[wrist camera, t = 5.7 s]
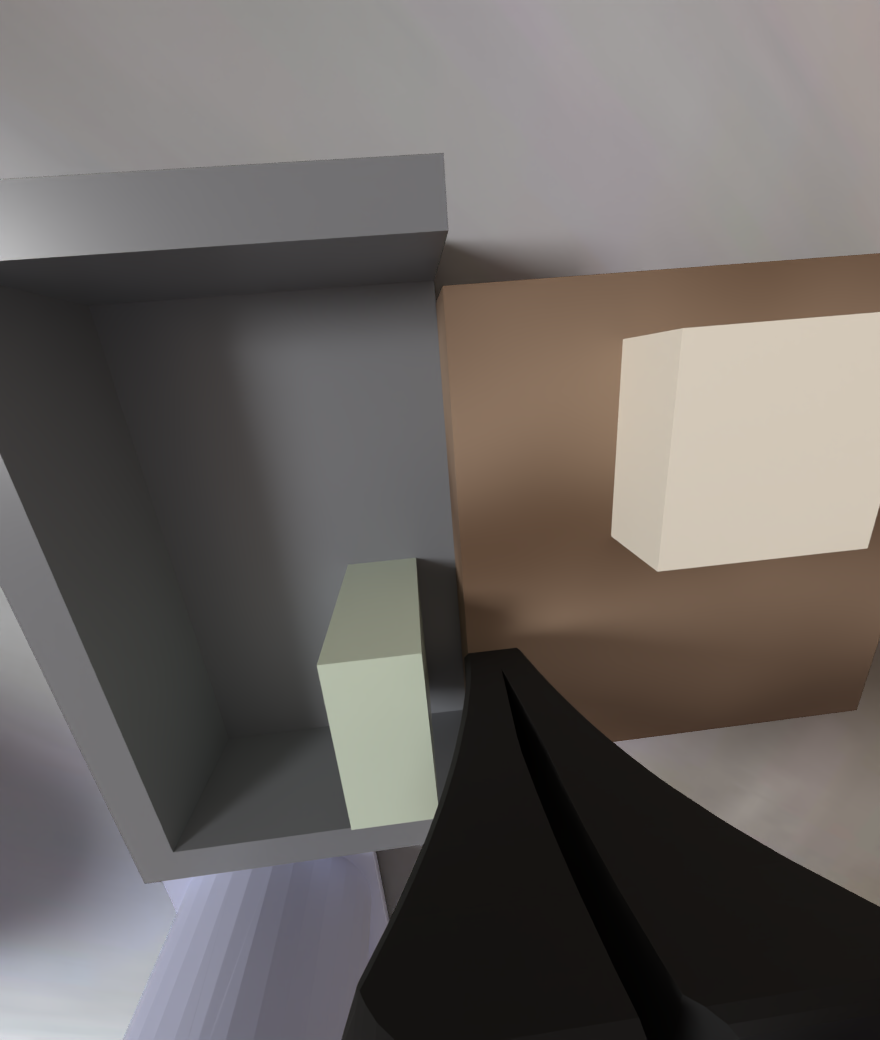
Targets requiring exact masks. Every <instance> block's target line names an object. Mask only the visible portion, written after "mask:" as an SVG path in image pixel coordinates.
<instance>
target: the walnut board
mask: <svg viewBox="0 0 880 1040" xmlns="http://www.w3.org/2000/svg"><path fill="white" fill-rule="evenodd" d="M875 312H880V253H878V254H864V255H851V256H837V257H824V258H810V259H797V260H784V261H770V262H757V263H743V264H730V265H716V266H703V267H690V268H676V269H663V270H649V271H636V272H623V273H609V274H596V275H582V276H569V277H555V278H542V279H529V280H515V281H502V282H488V283H475V284H461V285H448V286H442V289H441V292H440V294H439V297H438V299H437V302H436V314H437V327H438V340H439V353H440V367H441V380H442V393H443V407H444V420H445V433H446V447H447V460H448V473H449V487H450V500H451V513H452V527H453V540H454V553H455V567H456V580H457V593H458V607H459V620H460V633H461V647H462V660H463V673H464V687H465V688H466V677H465V664H464V657H465V656H466V655H467V654H468V653H476V652H484V651H492V650H501V649H509V648H518V649H519V650H520V651H521V652H522V653H523V654H524V655H525V656H526V657H527V659H528V660H529V661H530V662H531V663H532V664H533V665H534V666H535V668H536V669H537V670H538V671H539V672H540V673H541V674H542V675H543V676H544V677H545V678H546V680H547V681H548V682H549V683H550V684H551V685H552V686H553V687H554V688H555V689H556V690H557V691H558V692H559V693H560V694H561V695H562V696H563V697H564V698H565V699H566V700H567V701H568V702H569V703H570V704H571V705H572V706H573V707H574V708H575V709H576V710H577V711H578V712H580V713H581V714H582V715H583V716H584V717H585V718H586V719H587V720H588V721H589V722H590V723H592V724H593V725H594V726H595V727H596V728H597V729H598V730H600V731H601V732H602V733H603V734H604V735H605V736H606V737H607V738H609V739H610V740H611V741H612V742H616V741H623V740H631V739H639V738H646V737H654V736H662V735H669V734H677V733H684V732H692V731H700V730H707V729H715V728H723V727H730V726H738V725H745V724H753V723H761V722H768V721H776V720H784V719H791V718H799V717H806V716H814V715H822V714H829V713H837V712H845V711H852V710H857V707H858V704H859V701H860V698H861V695H862V692H863V689H864V685H865V682H866V679H867V676H868V673H869V670H870V667H871V663H872V660H873V657H874V654H875V651H876V648H877V645H878V641H879V638H880V506H879V510H878V513H877V517H876V520H875V524H874V527H873V531H872V534H871V538H870V541H869V545H868V548H866V549H857V550H848V551H839V552H830V553H821V554H812V555H803V556H794V557H785V558H776V559H767V560H758V561H749V562H740V563H731V564H722V565H713V566H704V567H695V568H686V569H677V570H668V571H659V572H657V571H656V570H655V569H653V568H652V567H651V566H649V565H648V564H647V563H646V562H644V561H643V560H642V559H640V558H639V557H638V556H636V555H635V554H634V553H632V552H631V551H630V550H628V549H627V548H626V547H625V546H623V545H622V544H621V543H619V542H618V541H617V540H615V539H614V538H613V537H611V528H612V512H613V495H614V478H615V462H616V445H617V429H618V412H619V396H620V379H621V363H622V346H623V339H627V338H632V337H638V336H643V335H649V334H654V333H660V332H665V331H670V330H676V329H681V328H692V327H704V326H716V325H728V324H740V323H753V322H765V321H777V320H789V319H802V318H814V317H826V316H838V315H850V314H863V313H875Z"/></svg>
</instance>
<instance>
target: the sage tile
mask: <svg viewBox="0 0 880 1040" xmlns="http://www.w3.org/2000/svg"><path fill="white" fill-rule="evenodd" d="M317 669H318V674H319V679H320V684H321V688H322V693H323V698H324V703H325V707H326V712H327V717H328V721H329V726H330V731H331V736H332V740H333V745H334V750H335V754H336V759H337V764H338V769H339V773H340V778H341V783H342V787H343V792H344V797H345V802H346V806H347V811H348V816H349V820H350V825H351V830H355V829H363V828H370V827H378V826H385V825H392V824H400V823H407V822H415V821H422V820H429V819H433V818H434V815H435V812H436V809H437V807H438V791H437V778H436V765H435V752H434V739H433V726H432V713H431V701H430V688H429V677H428V667H427V658H426V648H425V639H424V629H423V620H422V610H421V601H420V591H419V582H418V572H417V563H416V558H409V559H399V560H389V561H380V562H370V563H360V564H350V565H348V566H347V569H346V573H345V576H344V579H343V582H342V585H341V589H340V592H339V595H338V598H337V602H336V605H335V608H334V611H333V614H332V618H331V621H330V624H329V627H328V630H327V634H326V637H325V640H324V643H323V647H322V650H321V653H320V656H319V659H318V663H317Z"/></svg>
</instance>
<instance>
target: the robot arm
mask: <svg viewBox="0 0 880 1040" xmlns="http://www.w3.org/2000/svg"><path fill="white" fill-rule="evenodd" d="M464 664H465V677H466V688H465V698H464V705H463V711H462V718H461V723H460V728H459V732H458V737H457V741H456V746H455V750H454V754H453V758H452V762H451V765H450V769H449V772H448V776H447V779H446V782H445V786H444V789H443V792H442V795H441V798H440V801H439V804H438V807H437V809H436V812H435V815H434V818H433V821H432V823H431V826H430V829H429V831H428V834H427V837H426V839H425V842H424V844H423V847H422V849H421V852H420V854H419V856H418V859H417V861H416V863H415V865H414V868H413V870H412V872H411V875H410V877H409V879H408V881H407V884H406V886H405V888H404V891H403V893H402V895H401V897H400V900H399V902H398V904H397V906H396V908H395V910H394V912H393V915H392V917H391V919H390V921H389V916H388V911H387V906H386V901H385V896H384V890H383V885H382V880H381V875H380V870H379V865H378V859H377V854H376V851H375V852H367V853H360V854H353V855H346V856H339V857H332V858H325V859H318V860H310V861H303V862H296V863H289V864H282V865H275V866H268V867H261V868H253V869H246V870H239V871H232V872H225V873H218V874H211V875H204V876H196V877H189V878H182V879H175V880H168V881H162V882H163V884H164V887H165V889H166V891H167V893H168V895H169V897H170V900H171V902H172V904H173V906H174V908H175V910H176V913H177V914H176V916H175V919H174V921H173V923H172V926H171V928H170V930H169V933H168V935H167V937H166V940H165V942H164V944H163V947H162V949H161V951H160V954H159V956H158V958H157V961H156V963H155V965H154V968H153V970H152V972H151V975H150V977H149V979H148V982H147V984H146V986H145V989H144V991H143V993H142V996H141V998H140V1000H139V1003H138V1005H137V1007H136V1010H135V1012H134V1014H133V1017H132V1019H131V1021H130V1024H129V1026H128V1028H127V1031H126V1033H125V1035H124V1038H123V1040H880V907H879V906H877V905H875V904H873V903H871V902H869V901H867V900H866V899H864V898H862V897H860V896H858V895H856V894H854V893H852V892H850V891H848V890H847V889H845V888H843V887H841V886H839V885H837V884H835V883H833V882H831V881H829V880H828V879H826V878H824V877H822V876H820V875H818V874H816V873H814V872H812V871H810V870H808V869H807V868H805V867H803V866H801V865H799V864H797V863H795V862H793V861H791V860H790V859H788V858H786V857H784V856H782V855H781V854H779V853H777V852H775V851H774V850H772V849H770V848H769V847H767V846H765V845H763V844H762V843H760V842H758V841H757V840H755V839H753V838H752V837H750V836H748V835H746V834H745V833H743V832H741V831H740V830H738V829H736V828H735V827H733V826H731V825H730V824H728V823H726V822H725V821H723V820H722V819H720V818H718V817H717V816H715V815H714V814H712V813H711V812H709V811H708V810H706V809H705V808H703V807H702V806H700V805H699V804H697V803H695V802H694V801H692V800H691V799H689V798H688V797H686V796H685V795H683V794H682V793H680V792H679V791H677V790H676V789H674V788H673V787H671V786H670V785H668V784H667V783H666V782H664V781H663V780H661V779H660V778H659V777H657V776H656V775H654V774H653V773H652V772H650V771H649V770H648V769H646V768H645V767H644V766H642V765H641V764H640V763H639V762H637V761H636V760H635V759H633V758H632V757H631V756H629V755H628V754H627V753H626V752H624V751H623V750H622V749H621V748H619V747H618V746H617V745H616V744H615V743H613V742H612V741H611V740H610V739H609V738H607V737H606V736H605V735H604V734H603V733H602V732H601V731H600V730H598V729H597V728H596V727H595V726H594V725H593V724H592V723H590V722H589V721H588V720H587V719H586V718H585V717H584V716H583V715H582V714H581V713H580V712H578V711H577V710H576V709H575V708H574V707H573V706H572V705H571V704H570V703H569V702H568V701H567V700H566V699H565V698H564V697H563V696H562V695H561V694H560V693H559V692H558V691H557V690H556V689H555V688H554V687H553V686H552V685H551V684H550V683H549V682H548V681H547V680H546V678H545V677H544V676H543V675H542V674H541V673H540V672H539V671H538V670H537V669H536V668H535V666H534V665H533V664H532V663H531V662H530V661H529V660H528V659H527V657H526V656H525V655H524V654H523V653H522V652H521V651H520V650H519V649H518V648H509V649H501V650H492V651H484V652H476V653H468V654H467V655H466V656H465V657H464Z"/></svg>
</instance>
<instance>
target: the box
mask: <svg viewBox="0 0 880 1040" xmlns="http://www.w3.org/2000/svg"><path fill="white" fill-rule="evenodd" d="M447 233H448V218H447V202H446V186H445V170H444V154H443V153H435V154H418V155H401V156H384V157H367V158H350V159H333V160H316V161H299V162H282V163H265V164H248V165H231V166H214V167H197V168H180V169H163V170H146V171H129V172H112V173H95V174H78V175H61V176H44V177H26V178H9V179H0V586H1V588H2V590H3V592H4V594H5V596H6V598H7V600H8V602H9V604H10V606H11V609H12V611H13V613H14V615H15V617H16V619H17V621H18V623H19V625H20V627H21V629H22V631H23V633H24V635H25V637H26V640H27V642H28V644H29V646H30V648H31V650H32V652H33V654H34V656H35V658H36V660H37V662H38V664H39V666H40V668H41V670H42V673H43V675H44V677H45V679H46V681H47V683H48V685H49V687H50V689H51V691H52V693H53V695H54V697H55V699H56V701H57V704H58V706H59V708H60V710H61V712H62V714H63V716H64V718H65V720H66V722H67V724H68V726H69V728H70V730H71V732H72V734H73V737H74V739H75V741H76V743H77V745H78V747H79V749H80V751H81V753H82V755H83V757H84V759H85V761H86V763H87V765H88V768H89V770H90V772H91V774H92V776H93V778H94V780H95V782H96V784H97V786H98V788H99V790H100V792H101V794H102V796H103V798H104V801H105V803H106V805H107V807H108V809H109V811H110V813H111V815H112V817H113V819H114V821H115V823H116V825H117V827H118V829H119V831H120V834H121V836H122V838H123V840H124V842H125V844H126V846H127V848H128V850H129V852H130V854H131V856H132V858H133V860H134V862H135V865H136V867H137V869H138V871H139V873H140V875H141V877H142V879H143V881H144V883H145V884H147V883H154V882H161V881H168V880H175V879H182V878H189V877H196V876H204V875H211V874H218V873H225V872H232V871H239V870H246V869H253V868H261V867H268V866H275V865H282V864H289V863H296V862H303V861H310V860H318V859H325V858H332V857H339V856H346V855H353V854H360V853H367V852H375V851H382V850H389V849H396V848H403V847H410V846H417V845H423V844H424V842H425V839H426V837H427V834H428V831H429V829H430V826H431V823H432V821H433V819H429V820H422V821H415V822H407V823H400V824H392V825H385V826H378V827H370V828H363V829H355V830H351V825H350V820H349V816H348V811H347V806H346V802H345V797H344V792H343V787H342V783H341V778H340V773H339V769H338V764H337V759H336V754H335V750H334V745H333V740H332V736H331V731H330V726H329V721H328V717H327V712H326V707H325V703H324V698H323V693H322V688H321V684H320V679H319V674H318V669H317V663H318V659H319V656H320V653H321V650H322V647H323V643H324V640H325V637H326V634H327V630H328V627H329V624H330V621H331V618H332V614H333V611H334V608H335V605H336V602H337V598H338V595H339V592H340V589H341V585H342V582H343V579H344V576H345V573H346V569H347V566H348V565H350V564H360V563H370V562H380V561H389V560H399V559H409V558H416V563H417V572H418V582H419V591H420V601H421V610H422V620H423V629H424V639H425V648H426V658H427V667H428V677H429V688H430V701H431V713H432V726H433V739H434V752H435V765H436V778H437V791H438V804H439V801H440V798H441V795H442V792H443V789H444V786H445V782H446V779H447V776H448V772H449V769H450V765H451V762H452V758H453V754H454V750H455V746H456V741H457V737H458V732H459V728H460V723H461V718H462V711H463V705H464V698H465V687H464V673H463V660H462V647H461V633H460V620H459V607H458V593H457V580H456V567H455V553H454V540H453V527H452V513H451V500H450V487H449V473H448V460H447V447H446V433H445V420H444V407H443V393H442V380H441V367H440V353H439V340H438V327H437V314H436V300H435V287H434V279H435V275H436V272H437V268H438V265H439V261H440V258H441V254H442V251H443V247H444V244H445V240H446V237H447Z"/></svg>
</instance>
